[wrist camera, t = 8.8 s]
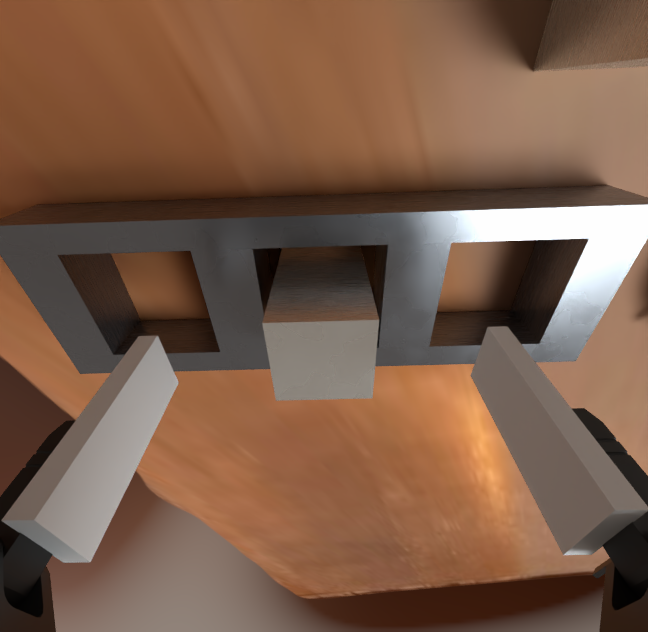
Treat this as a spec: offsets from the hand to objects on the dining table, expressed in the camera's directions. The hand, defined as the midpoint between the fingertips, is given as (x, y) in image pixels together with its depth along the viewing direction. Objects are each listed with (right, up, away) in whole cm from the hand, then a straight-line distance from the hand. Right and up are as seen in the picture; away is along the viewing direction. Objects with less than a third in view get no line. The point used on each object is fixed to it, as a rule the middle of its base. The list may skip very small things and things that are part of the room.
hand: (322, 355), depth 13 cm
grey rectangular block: (0, +4, +7) cm, 8 cm away
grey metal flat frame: (0, +4, +7) cm, 8 cm away
